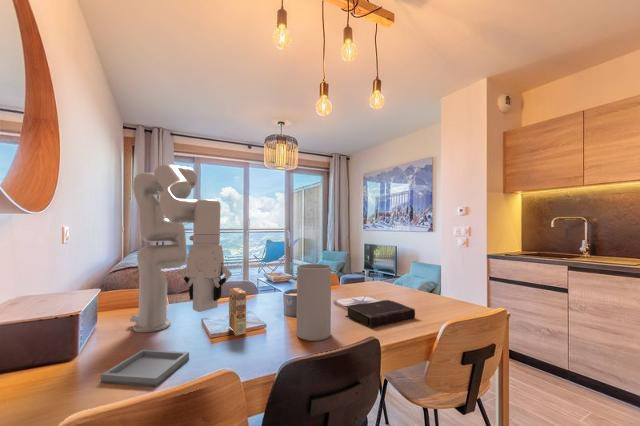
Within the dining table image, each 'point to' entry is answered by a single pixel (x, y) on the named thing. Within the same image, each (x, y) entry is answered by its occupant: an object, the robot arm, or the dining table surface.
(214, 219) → the robot arm
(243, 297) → the candy box
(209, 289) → the skincare box
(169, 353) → the tray
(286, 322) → the dining table surface
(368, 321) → the diary
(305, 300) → the cylinder vase
